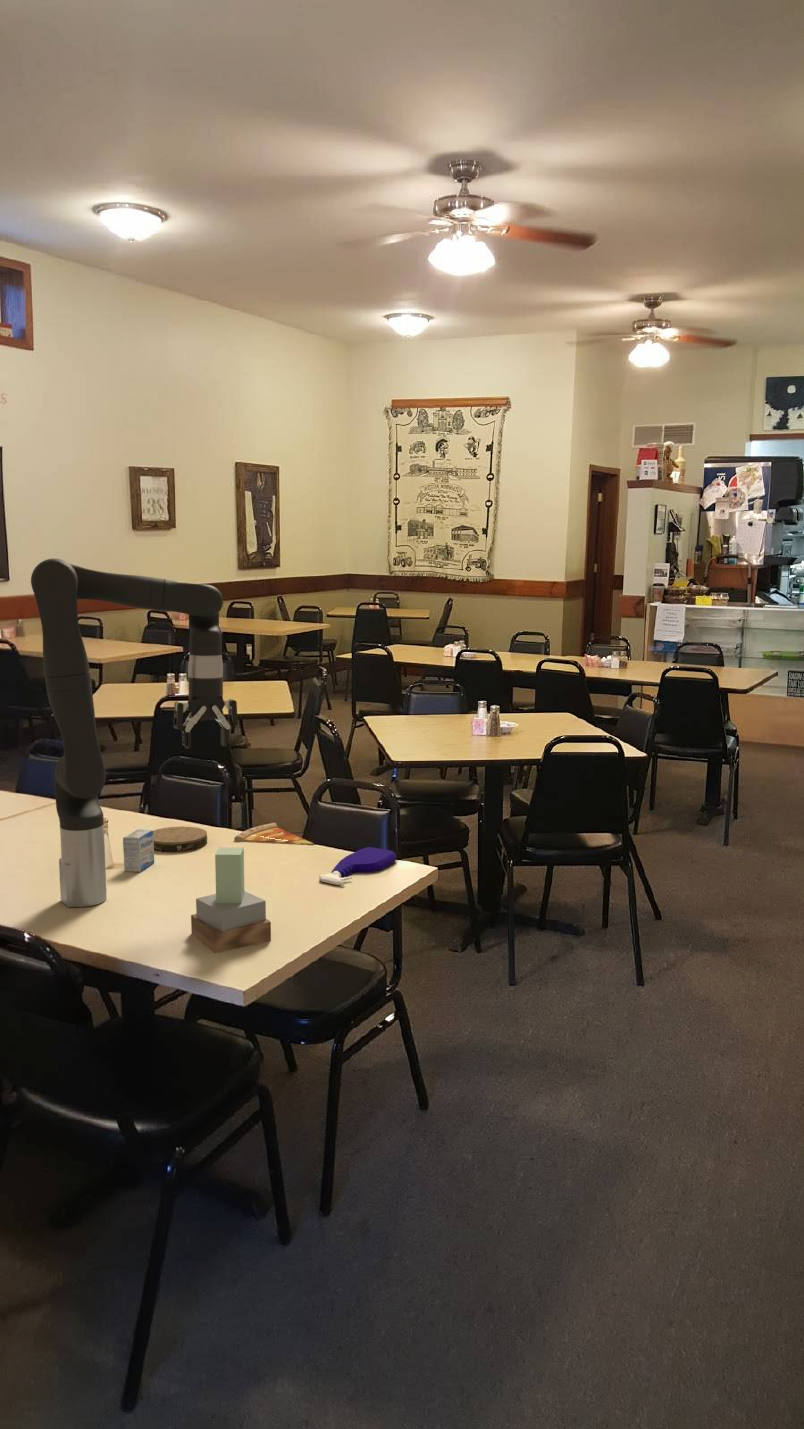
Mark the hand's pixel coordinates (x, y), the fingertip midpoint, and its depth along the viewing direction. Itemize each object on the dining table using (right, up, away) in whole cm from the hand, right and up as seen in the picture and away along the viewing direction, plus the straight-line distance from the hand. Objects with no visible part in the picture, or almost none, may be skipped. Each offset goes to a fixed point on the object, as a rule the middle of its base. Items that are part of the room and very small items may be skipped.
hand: (206, 746), depth 226 cm
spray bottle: (+33, -32, +21) cm, 50 cm away
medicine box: (-21, -31, +23) cm, 43 cm away
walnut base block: (+9, -38, -23) cm, 45 cm away
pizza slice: (+8, -28, +47) cm, 55 cm away
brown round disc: (-16, -28, +43) cm, 54 cm away
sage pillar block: (+10, -30, -24) cm, 39 cm away
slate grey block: (+10, -34, -23) cm, 42 cm away
